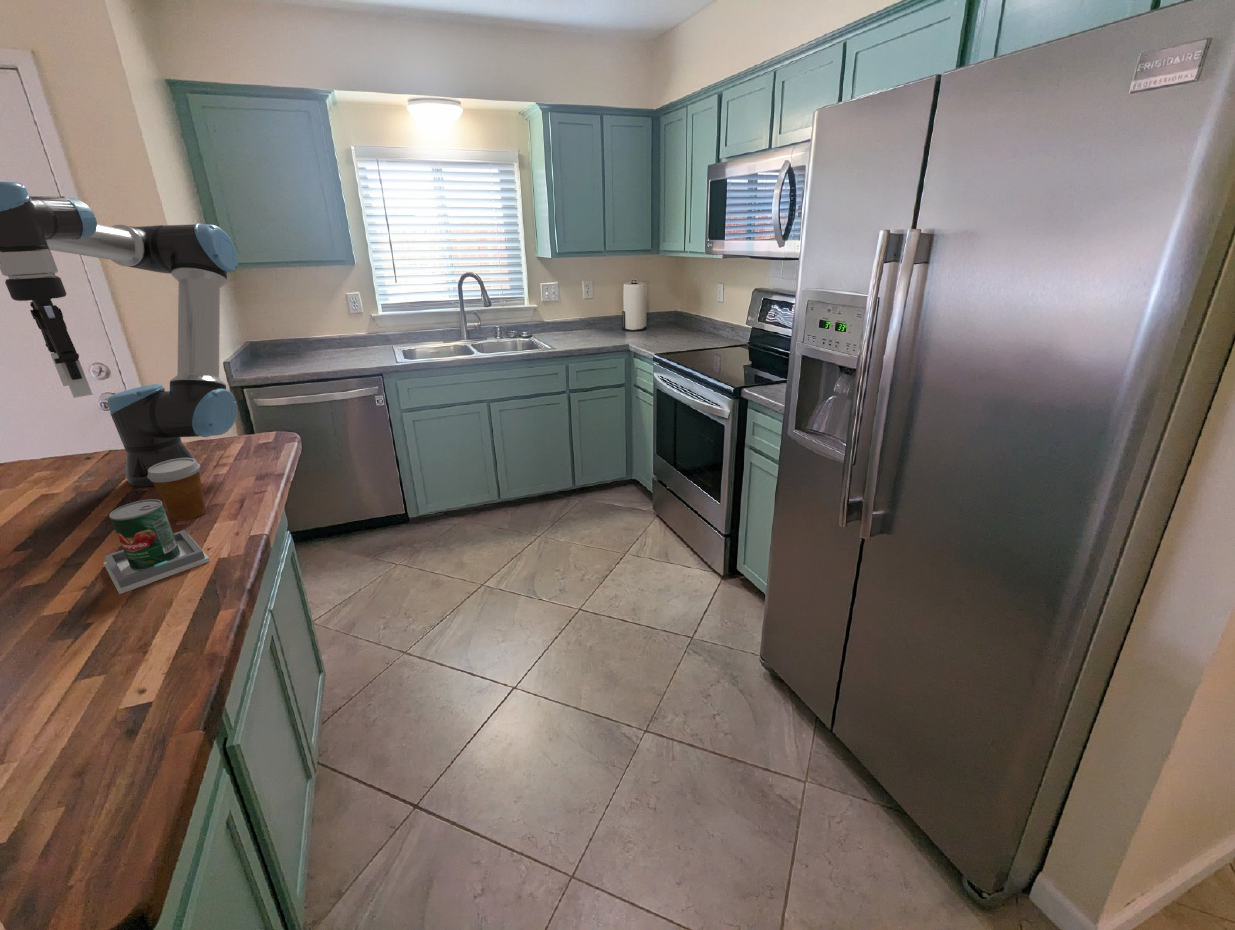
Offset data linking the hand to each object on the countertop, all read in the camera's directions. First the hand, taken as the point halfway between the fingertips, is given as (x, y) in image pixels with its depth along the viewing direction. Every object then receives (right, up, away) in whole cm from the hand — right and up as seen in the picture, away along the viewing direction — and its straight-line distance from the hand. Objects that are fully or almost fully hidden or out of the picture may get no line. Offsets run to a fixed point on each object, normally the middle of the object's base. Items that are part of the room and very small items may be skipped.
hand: (77, 390), depth 114 cm
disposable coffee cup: (+9, -26, +18) cm, 33 cm away
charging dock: (+17, -34, -2) cm, 38 cm away
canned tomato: (+17, -33, -2) cm, 37 cm away
